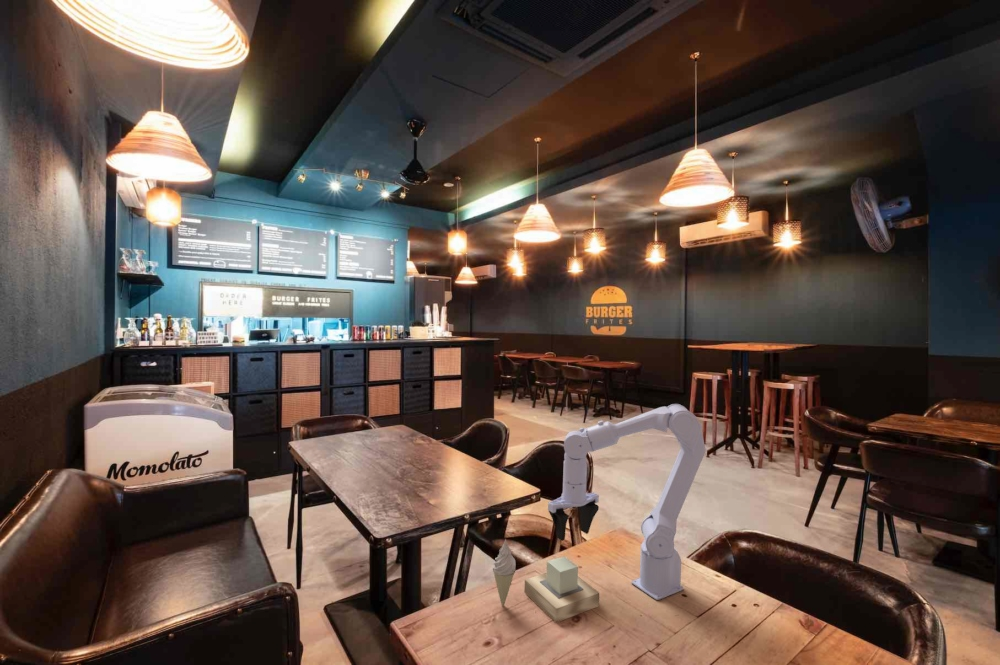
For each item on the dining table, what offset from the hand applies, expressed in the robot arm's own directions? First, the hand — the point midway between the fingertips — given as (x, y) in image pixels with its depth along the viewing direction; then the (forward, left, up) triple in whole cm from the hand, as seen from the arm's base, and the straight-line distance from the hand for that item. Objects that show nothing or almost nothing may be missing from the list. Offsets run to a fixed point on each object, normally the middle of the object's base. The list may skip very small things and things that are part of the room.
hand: (572, 535), depth 112 cm
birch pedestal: (+8, +6, -10) cm, 14 cm away
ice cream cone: (+21, +2, -11) cm, 24 cm away
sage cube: (+8, +6, -7) cm, 12 cm away
